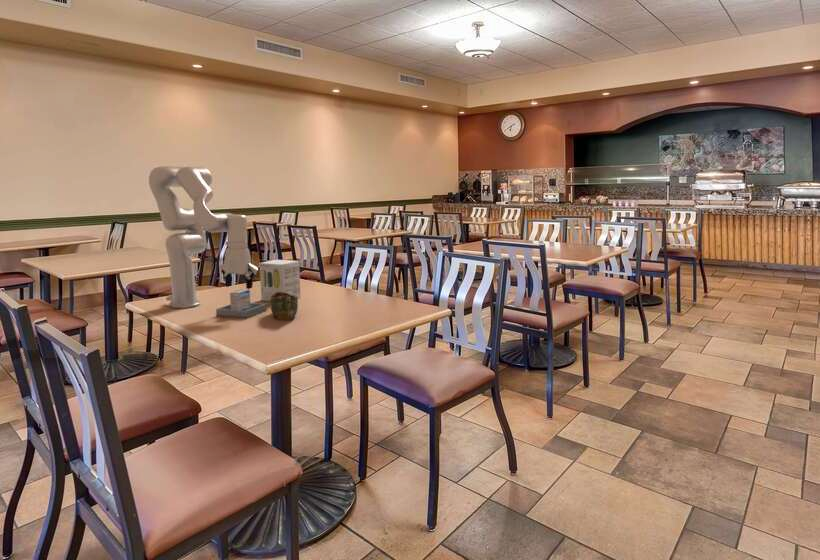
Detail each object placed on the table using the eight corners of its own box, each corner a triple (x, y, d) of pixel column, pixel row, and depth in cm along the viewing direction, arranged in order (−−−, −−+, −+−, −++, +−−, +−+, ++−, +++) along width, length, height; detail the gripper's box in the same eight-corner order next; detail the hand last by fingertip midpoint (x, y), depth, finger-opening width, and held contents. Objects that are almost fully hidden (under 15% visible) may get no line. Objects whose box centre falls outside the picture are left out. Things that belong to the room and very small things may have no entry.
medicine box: (240, 314, 210) (239, 293, 209) (230, 313, 211) (229, 292, 210) (251, 309, 218) (250, 289, 216) (241, 309, 219) (240, 288, 217)
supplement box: (260, 300, 240) (258, 262, 237) (278, 295, 252) (276, 259, 249) (284, 302, 235) (282, 264, 232) (301, 297, 247) (299, 260, 244)
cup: (259, 322, 200) (258, 296, 198) (275, 311, 219) (274, 287, 218) (292, 323, 199) (291, 297, 197) (305, 312, 219) (305, 288, 217)
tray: (216, 316, 210) (216, 309, 209) (237, 308, 223) (237, 301, 222) (246, 318, 206) (246, 311, 205) (266, 311, 219) (265, 304, 218)
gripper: (213, 245, 209) (215, 287, 212) (251, 248, 204) (252, 290, 207) (225, 243, 216) (226, 283, 219) (261, 246, 211) (262, 287, 214)
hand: (239, 287), depth 213 cm, fingers open, 9 cm apart
